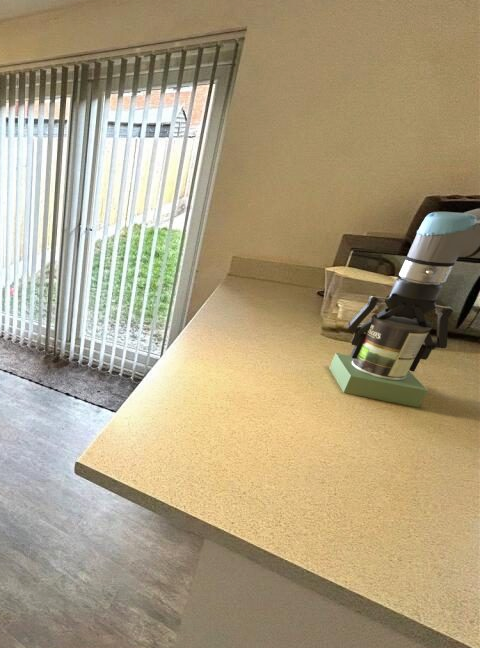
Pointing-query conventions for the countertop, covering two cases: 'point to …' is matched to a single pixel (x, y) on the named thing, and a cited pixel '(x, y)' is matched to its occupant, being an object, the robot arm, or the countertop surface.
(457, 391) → the countertop surface
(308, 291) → the countertop surface
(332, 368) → the riser block
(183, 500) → the countertop surface
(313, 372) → the countertop surface
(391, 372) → the coffee can
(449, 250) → the robot arm
